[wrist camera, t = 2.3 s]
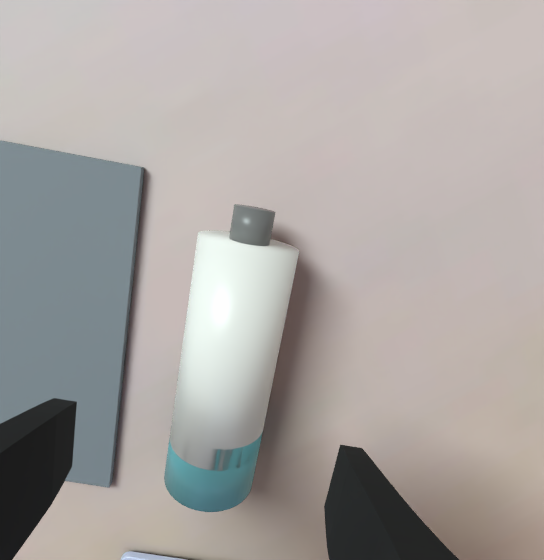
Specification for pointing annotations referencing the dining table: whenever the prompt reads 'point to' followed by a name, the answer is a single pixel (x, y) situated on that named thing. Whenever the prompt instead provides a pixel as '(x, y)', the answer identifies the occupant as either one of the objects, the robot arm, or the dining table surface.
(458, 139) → the dining table surface
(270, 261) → the bottle
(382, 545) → the robot arm
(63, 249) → the mat
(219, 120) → the dining table surface
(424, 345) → the dining table surface
